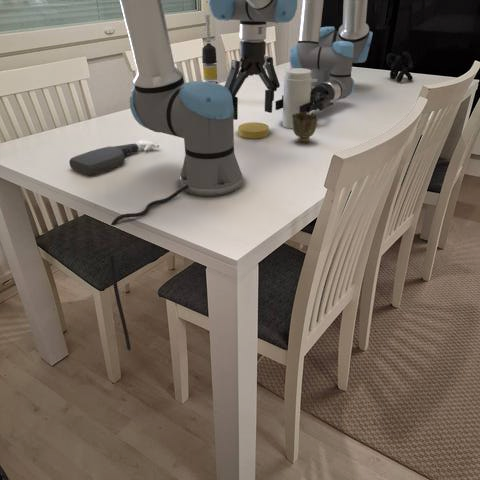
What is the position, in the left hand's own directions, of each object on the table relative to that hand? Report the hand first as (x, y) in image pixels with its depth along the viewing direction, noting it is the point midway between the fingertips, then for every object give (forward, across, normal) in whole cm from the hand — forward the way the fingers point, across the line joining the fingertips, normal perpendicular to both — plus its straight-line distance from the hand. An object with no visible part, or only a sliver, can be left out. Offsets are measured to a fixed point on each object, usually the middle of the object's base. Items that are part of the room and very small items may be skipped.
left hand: (251, 115), depth 138 cm
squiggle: (+2, +97, +15) cm, 98 cm away
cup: (+6, +8, -15) cm, 18 cm away
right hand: (-1, +13, -3) cm, 13 cm away
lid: (+4, +1, 0) cm, 4 cm away
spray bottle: (+7, -42, +8) cm, 43 cm away
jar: (+5, +18, -2) cm, 18 cm away
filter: (+5, +15, +44) cm, 47 cm away
